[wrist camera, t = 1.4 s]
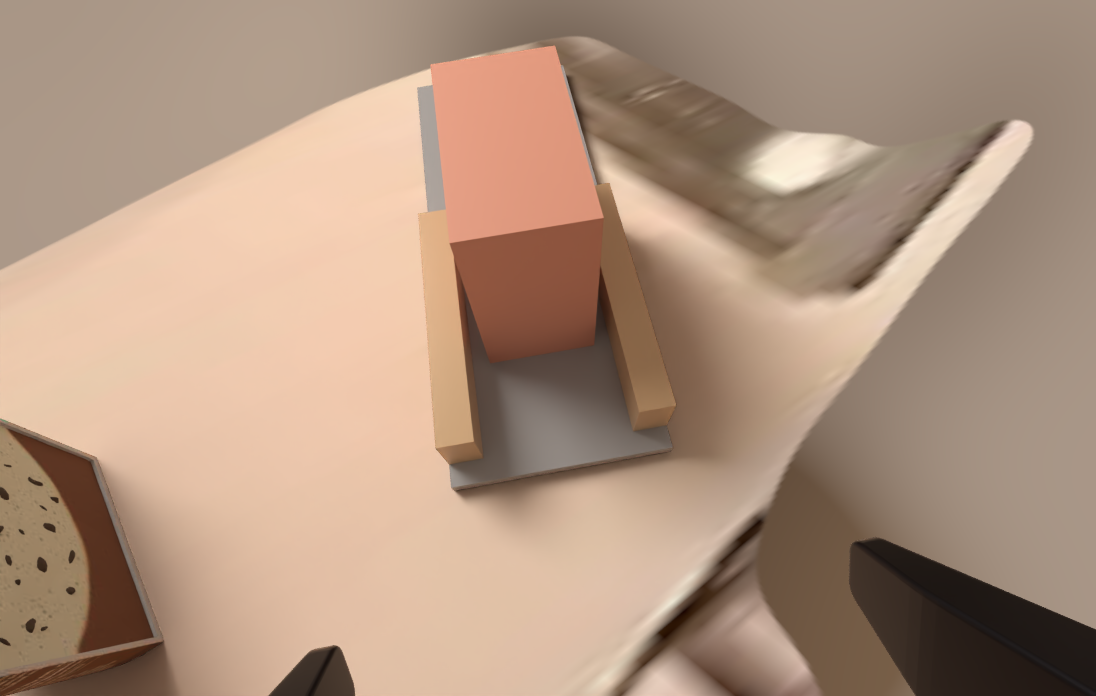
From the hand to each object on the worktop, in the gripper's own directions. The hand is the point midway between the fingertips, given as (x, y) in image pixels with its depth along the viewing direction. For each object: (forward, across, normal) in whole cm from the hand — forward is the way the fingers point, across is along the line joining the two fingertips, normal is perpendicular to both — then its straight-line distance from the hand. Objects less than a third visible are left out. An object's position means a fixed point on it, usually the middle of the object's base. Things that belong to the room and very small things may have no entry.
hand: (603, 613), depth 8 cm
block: (+20, 0, -2) cm, 20 cm away
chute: (+23, 0, -4) cm, 23 cm away
